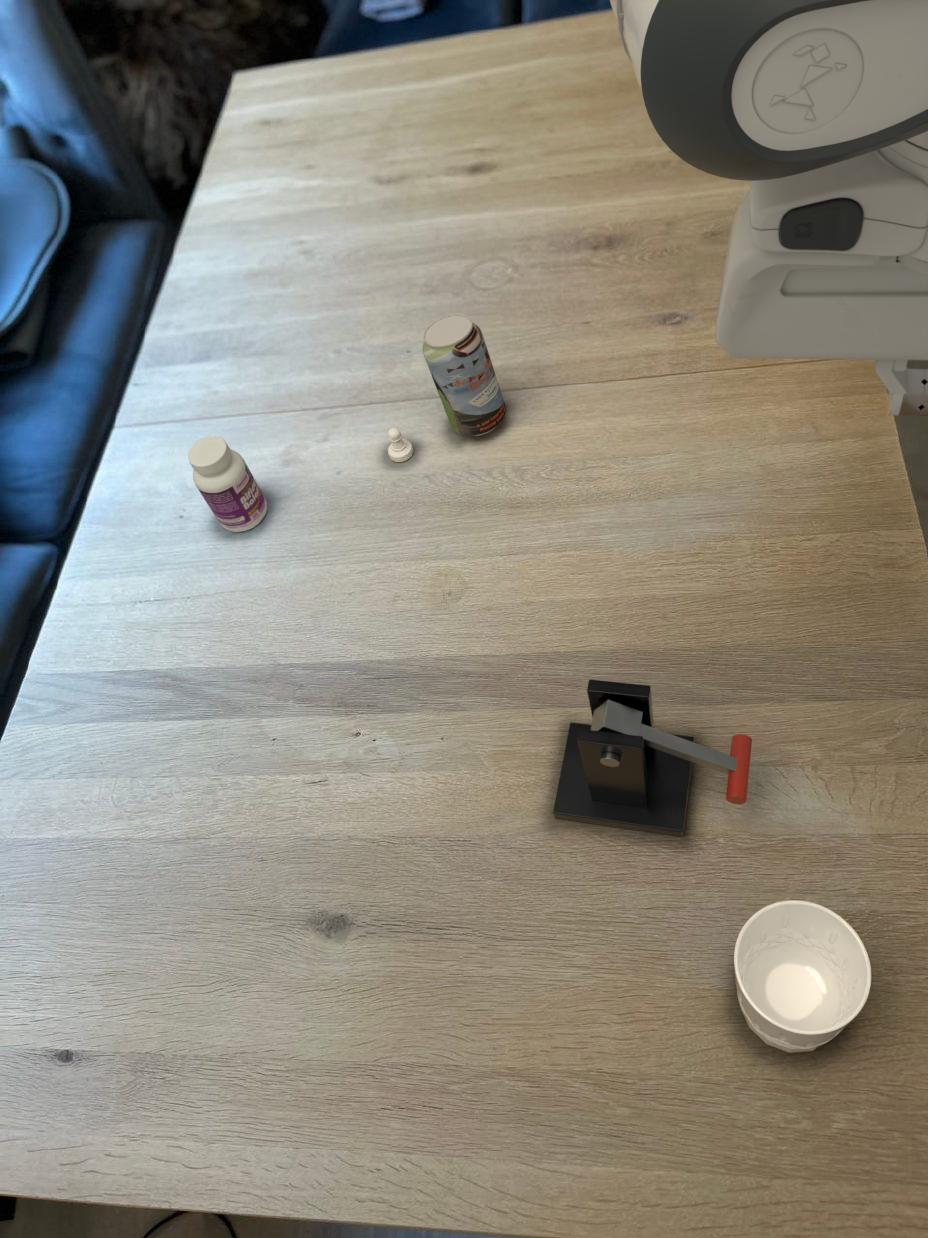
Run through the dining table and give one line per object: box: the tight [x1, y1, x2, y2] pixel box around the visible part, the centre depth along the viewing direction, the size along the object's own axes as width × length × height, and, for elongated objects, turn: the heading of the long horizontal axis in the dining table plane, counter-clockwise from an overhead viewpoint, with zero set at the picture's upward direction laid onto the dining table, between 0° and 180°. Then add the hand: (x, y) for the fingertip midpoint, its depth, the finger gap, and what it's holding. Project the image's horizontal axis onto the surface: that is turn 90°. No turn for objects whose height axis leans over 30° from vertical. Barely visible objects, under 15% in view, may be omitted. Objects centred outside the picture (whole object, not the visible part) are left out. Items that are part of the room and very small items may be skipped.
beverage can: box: [422, 313, 508, 437], centre depth 99 cm, size 6×7×12 cm
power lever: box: [590, 699, 753, 805], centre depth 72 cm, size 12×5×2 cm, turn 77°
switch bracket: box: [552, 679, 695, 838], centre depth 74 cm, size 10×8×12 cm
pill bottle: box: [187, 435, 268, 533], centre depth 99 cm, size 5×5×10 cm
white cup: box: [733, 899, 872, 1054], centre depth 64 cm, size 8×8×10 cm
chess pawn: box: [387, 427, 414, 463], centre depth 102 cm, size 3×3×4 cm
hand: (918, 407), depth 51 cm, fingers closed
